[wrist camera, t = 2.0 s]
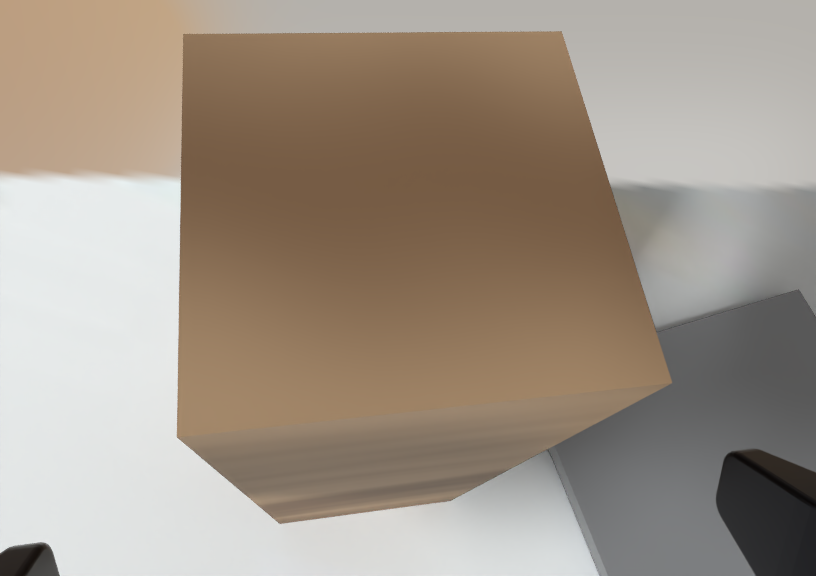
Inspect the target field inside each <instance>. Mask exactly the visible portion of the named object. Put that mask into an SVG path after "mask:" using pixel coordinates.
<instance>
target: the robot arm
mask: <svg viewBox="0 0 816 576" xmlns="http://www.w3.org/2000/svg"><path fill="white" fill-rule="evenodd" d="M716 506H717V510H718V512H719V515H720V517H721V518H722V520H723V522H724V524H725V525H726V527H727V529H728V530H729V532H730V534H731V535H732V537H733V539H734V540H735V542H736V544H737V546H738V547H739V549H740V551H741V552H742V554H743V556H744V557H745V559H746V561H747V563H748V564H749V566H750V568H751V569H752V571H753V573H754V574H755V576H816V472H814V471H812V470H809V469H807V468H804V467H802V466H799V465H797V464H794V463H792V462H790V461H787V460H785V459H782V458H780V457H777V456H775V455H772V454H770V453H768V452H765V451H763V450H760V449H755V448H750V449H743V450H735V451H731V452H729V453H728V454H727V455H726V456H725V457H724V460H723V465H722V469H721V474H720V479H719V483H718V488H717V492H716ZM0 576H60V575H59V572H58V568H57V565H56V562H55V558H54V555H53V552H52V549H51V548H50V546H49V545H48V544H46V543H42V542H40V543H32V544H25V545H17V546H13V547H9V548H7V549H6V550H4V551H3V552H2V553H0Z"/></svg>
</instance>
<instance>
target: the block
mask: <svg viewBox="0 0 816 576" xmlns="http://www.w3.org/2000/svg"><path fill="white" fill-rule="evenodd" d="M181 155H182V156H181V218H180V281H179V345H178V408H177V438H179V439H180V440H181V441H182V442H183V443H184V444H186V445H187V446H188V447H189V448H190V449H192V450H193V451H194V452H195V453H196V454H198V455H199V456H200V457H201V458H202V459H203V460H205V461H206V462H207V463H208V464H209V465H211V466H212V467H213V468H214V469H215V470H216V471H218V472H219V473H220V474H221V475H222V476H224V477H225V478H226V479H227V480H228V481H230V482H231V483H232V484H233V485H234V486H235V487H237V488H238V489H239V490H240V491H241V492H243V493H244V494H245V495H246V496H247V497H249V498H250V499H251V500H252V501H253V502H254V503H256V504H257V505H258V506H259V507H260V508H262V509H263V510H264V511H265V512H266V513H268V514H269V515H270V516H271V517H272V518H273V519H275V520H276V521H277V522H278V523H279V524H282V523H289V522H296V521H304V520H311V519H319V518H326V517H334V516H341V515H348V514H356V513H363V512H371V511H378V510H385V509H393V508H400V507H408V506H415V505H422V504H430V503H437V502H445V501H451V500H453V499H455V498H456V497H458V496H460V495H462V494H464V493H466V492H468V491H470V490H472V489H473V488H475V487H477V486H479V485H481V484H483V483H485V482H487V481H489V480H490V479H492V478H494V477H496V476H498V475H500V474H502V473H504V472H506V471H507V470H509V469H511V468H513V467H515V466H517V465H519V464H521V463H522V462H524V461H526V460H528V459H530V458H532V457H534V456H536V455H538V454H539V453H541V452H543V451H545V450H547V449H549V448H551V447H553V446H555V445H556V444H558V443H560V442H562V441H564V440H566V439H568V438H570V437H572V436H573V435H575V434H577V433H579V432H581V431H583V430H585V429H587V428H589V427H590V426H592V425H594V424H596V423H598V422H600V421H602V420H604V419H605V418H607V417H609V416H611V415H613V414H615V413H617V412H619V411H621V410H622V409H624V408H626V407H628V406H630V405H632V404H634V403H636V402H638V401H639V400H641V399H643V398H645V397H647V396H649V395H651V394H653V393H655V392H656V391H658V390H660V389H662V388H664V387H666V386H668V385H670V384H672V380H671V377H670V374H669V371H668V368H667V364H666V361H665V358H664V355H663V352H662V349H661V345H660V342H659V339H658V336H657V333H656V330H655V326H654V323H653V320H652V317H651V314H650V311H649V307H648V304H647V301H646V298H645V295H644V291H643V288H642V285H641V282H640V279H639V276H638V272H637V269H636V266H635V263H634V260H633V257H632V253H631V250H630V247H629V244H628V241H627V238H626V234H625V231H624V228H623V225H622V222H621V218H620V215H619V212H618V209H617V206H616V203H615V199H614V196H613V193H612V190H611V187H610V184H609V180H608V177H607V174H606V171H605V168H604V165H603V161H602V159H601V155H600V152H599V149H598V146H597V142H596V139H595V136H594V133H593V130H592V127H591V123H590V120H589V117H588V114H587V111H586V107H585V104H584V102H583V98H582V95H581V92H580V89H579V85H578V82H577V79H576V76H575V73H574V70H573V66H572V63H571V60H570V57H569V53H568V50H567V47H566V44H565V41H564V38H563V34H562V32H561V31H560V32H559V31H558V32H425V33H423V32H422V33H421V32H417V33H283V34H281V33H280V34H279V33H277V34H184V35H183V93H182V154H181Z"/></svg>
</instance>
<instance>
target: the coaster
mask: <svg viewBox="0 0 816 576" xmlns="http://www.w3.org/2000/svg"><path fill="white" fill-rule="evenodd" d="M656 333H657V336H658V339H659V342H660V345H661V349H662V352H663V355H664V358H665V361H666V364H667V368H668V371H669V374H670V377H671V380H672V384H670V385H668V386H666V387H664V388H662V389H660V390H658V391H656V392H655V393H653V394H651V395H649V396H647V397H645V398H643V399H641V400H639V401H638V402H636V403H634V404H632V405H630V406H628V407H626V408H624V409H622V410H621V411H619V412H617V413H615V414H613V415H611V416H609V417H607V418H605V419H604V420H602V421H600V422H598V423H596V424H594V425H592V426H590V427H589V428H587V429H585V430H583V431H581V432H579V433H577V434H575V435H573V436H572V437H570V438H568V439H566V440H564V441H562V442H560V443H558V444H556V445H555V446H553V447H551V448H549V452H550V454H551V457H552V459H553V462H554V464H555V466H556V469H557V471H558V474H559V476H560V479H561V481H562V484H563V486H564V489H565V491H566V494H567V496H568V499H569V501H570V504H571V506H572V509H573V511H574V514H575V516H576V518H577V521H578V523H579V526H580V528H581V531H582V533H583V536H584V538H585V541H586V543H587V546H588V548H589V551H590V553H591V556H592V558H593V561H594V563H595V565H596V568H597V570H598V573H599V575H600V576H755V574H754V573H753V571H752V569H751V568H750V566H749V564H748V563H747V561H746V559H745V557H744V556H743V554H742V552H741V551H740V549H739V547H738V546H737V544H736V542H735V540H734V539H733V537H732V535H731V534H730V532H729V530H728V529H727V527H726V525H725V524H724V522H723V520H722V518H721V517H720V515H719V512H718V510H717V506H716V492H717V488H718V483H719V479H720V474H721V469H722V465H723V460H724V457H725V456H726V455H727V454H728V453H729V452H731V451H735V450H743V449H750V448H755V449H760V450H763V451H765V452H768V453H770V454H772V455H775V456H777V457H780V458H782V459H785V460H787V461H790V462H792V463H794V464H797V465H799V466H802V467H804V468H807V469H809V470H812V471H814V472H816V317H815V315H814V313H813V312H812V310H811V309H810V307H809V305H808V304H807V302H806V300H805V299H804V297H803V296H802V294H801V292H800V291H799V290H795V291H792V292H789V293H785V294H782V295H779V296H775V297H772V298H769V299H765V300H762V301H759V302H756V303H752V304H749V305H746V306H742V307H739V308H736V309H732V310H729V311H726V312H722V313H719V314H716V315H712V316H709V317H706V318H702V319H699V320H696V321H693V322H689V323H686V324H683V325H679V326H676V327H673V328H669V329H666V330H663V331H659V332H656Z"/></svg>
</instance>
